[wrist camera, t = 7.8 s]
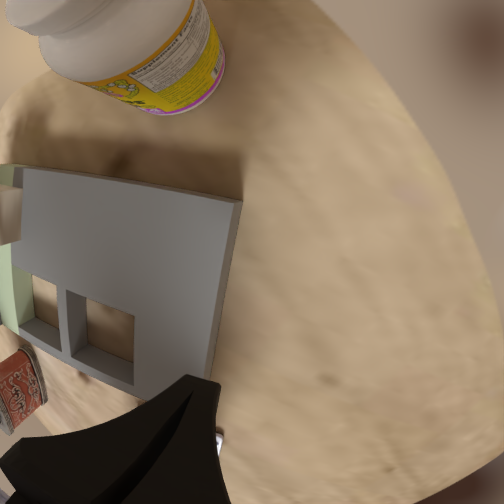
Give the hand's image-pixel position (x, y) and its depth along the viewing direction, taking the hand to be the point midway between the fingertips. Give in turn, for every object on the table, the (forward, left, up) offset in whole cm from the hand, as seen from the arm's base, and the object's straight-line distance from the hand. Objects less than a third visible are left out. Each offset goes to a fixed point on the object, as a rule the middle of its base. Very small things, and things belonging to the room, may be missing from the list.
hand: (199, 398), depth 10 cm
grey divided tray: (-1, +12, -9) cm, 16 cm away
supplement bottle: (+14, +7, -9) cm, 18 cm away
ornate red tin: (-16, +21, -10) cm, 28 cm away
